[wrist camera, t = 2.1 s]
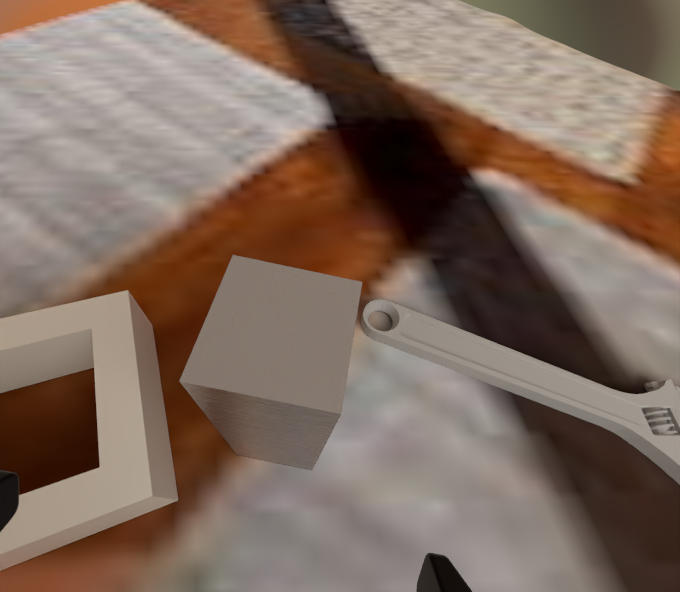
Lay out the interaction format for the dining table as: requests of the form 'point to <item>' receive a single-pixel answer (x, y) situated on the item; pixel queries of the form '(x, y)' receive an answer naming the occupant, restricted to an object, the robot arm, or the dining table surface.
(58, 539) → the socket block
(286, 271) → the steel peg
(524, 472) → the dining table surface
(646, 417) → the adjustable wrench
